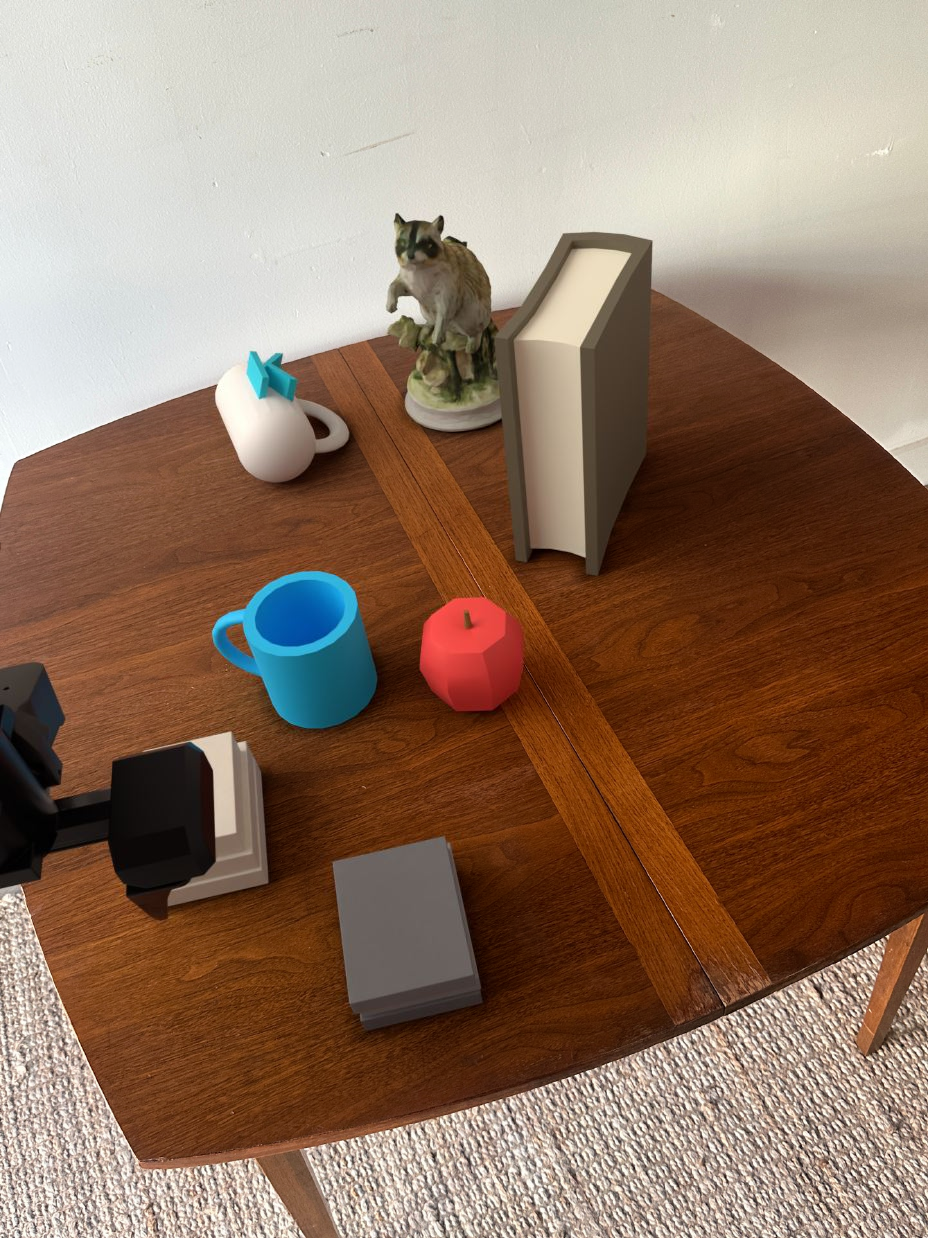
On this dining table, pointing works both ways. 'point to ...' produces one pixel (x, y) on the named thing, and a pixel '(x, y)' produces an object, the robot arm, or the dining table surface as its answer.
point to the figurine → (445, 329)
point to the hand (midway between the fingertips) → (75, 932)
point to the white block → (225, 791)
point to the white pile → (242, 865)
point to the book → (576, 393)
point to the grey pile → (405, 934)
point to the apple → (472, 654)
